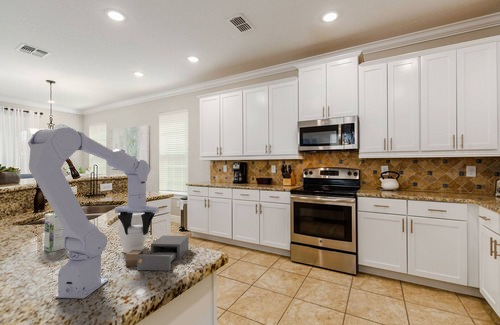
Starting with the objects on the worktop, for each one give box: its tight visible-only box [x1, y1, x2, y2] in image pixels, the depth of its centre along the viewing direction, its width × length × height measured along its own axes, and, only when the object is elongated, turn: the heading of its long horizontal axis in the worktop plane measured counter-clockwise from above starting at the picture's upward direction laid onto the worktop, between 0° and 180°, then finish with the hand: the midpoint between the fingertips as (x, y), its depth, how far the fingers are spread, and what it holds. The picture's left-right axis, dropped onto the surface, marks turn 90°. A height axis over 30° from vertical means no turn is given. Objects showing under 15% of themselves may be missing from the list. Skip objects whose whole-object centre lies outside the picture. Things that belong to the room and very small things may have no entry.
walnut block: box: [125, 249, 144, 267], centre depth 80 cm, size 4×4×4 cm
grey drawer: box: [136, 252, 177, 272], centre depth 80 cm, size 11×11×5 cm
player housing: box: [150, 235, 190, 261], centre depth 89 cm, size 10×11×6 cm
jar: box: [118, 213, 147, 254], centre depth 94 cm, size 11×10×15 cm
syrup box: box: [43, 212, 65, 253], centre depth 95 cm, size 6×6×14 cm
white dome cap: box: [128, 225, 143, 234], centre depth 80 cm, size 6×6×2 cm
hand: (136, 233), depth 80 cm, fingers closed on white dome cap, 6 cm apart
